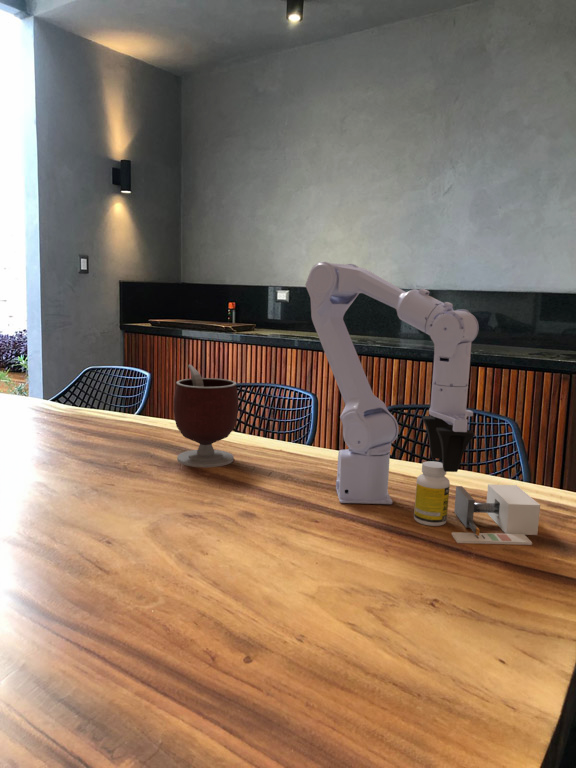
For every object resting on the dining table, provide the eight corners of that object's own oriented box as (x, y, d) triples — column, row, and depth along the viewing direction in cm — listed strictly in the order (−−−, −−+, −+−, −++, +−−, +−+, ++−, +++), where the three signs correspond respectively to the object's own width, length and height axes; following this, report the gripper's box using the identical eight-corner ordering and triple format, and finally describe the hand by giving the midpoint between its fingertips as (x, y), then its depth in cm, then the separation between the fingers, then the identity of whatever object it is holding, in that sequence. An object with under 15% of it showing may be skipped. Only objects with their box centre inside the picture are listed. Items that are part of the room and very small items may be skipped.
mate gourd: (248, 463, 134) (251, 371, 131) (190, 472, 126) (191, 375, 123) (215, 446, 146) (216, 363, 143) (160, 454, 139) (160, 365, 136)
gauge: (457, 542, 94) (459, 511, 94) (434, 510, 108) (436, 482, 108) (548, 545, 95) (551, 514, 94) (513, 512, 109) (516, 485, 108)
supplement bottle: (447, 528, 100) (452, 470, 99) (413, 525, 101) (417, 467, 100) (446, 516, 105) (450, 461, 104) (413, 513, 106) (417, 458, 105)
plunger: (474, 538, 96) (477, 509, 95) (454, 512, 107) (456, 486, 106) (526, 540, 96) (528, 511, 95) (500, 513, 107) (502, 487, 106)
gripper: (489, 392, 94) (482, 478, 96) (460, 378, 108) (454, 453, 110) (443, 391, 94) (437, 477, 96) (420, 377, 108) (415, 452, 110)
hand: (443, 464), depth 103 cm, fingers open, 7 cm apart
